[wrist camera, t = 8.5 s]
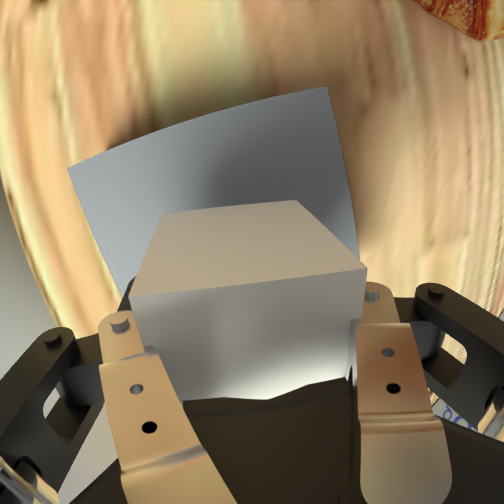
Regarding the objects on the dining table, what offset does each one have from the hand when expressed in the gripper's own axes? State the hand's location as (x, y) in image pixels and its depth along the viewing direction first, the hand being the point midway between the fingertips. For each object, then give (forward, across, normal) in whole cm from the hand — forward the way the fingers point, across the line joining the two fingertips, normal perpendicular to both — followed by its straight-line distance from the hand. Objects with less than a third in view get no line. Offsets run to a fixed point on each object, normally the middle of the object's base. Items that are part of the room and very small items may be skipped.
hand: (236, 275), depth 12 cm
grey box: (+9, 0, 0) cm, 9 cm away
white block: (+1, 0, 0) cm, 1 cm away
